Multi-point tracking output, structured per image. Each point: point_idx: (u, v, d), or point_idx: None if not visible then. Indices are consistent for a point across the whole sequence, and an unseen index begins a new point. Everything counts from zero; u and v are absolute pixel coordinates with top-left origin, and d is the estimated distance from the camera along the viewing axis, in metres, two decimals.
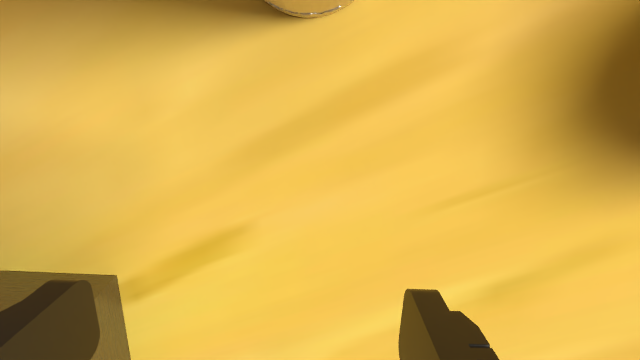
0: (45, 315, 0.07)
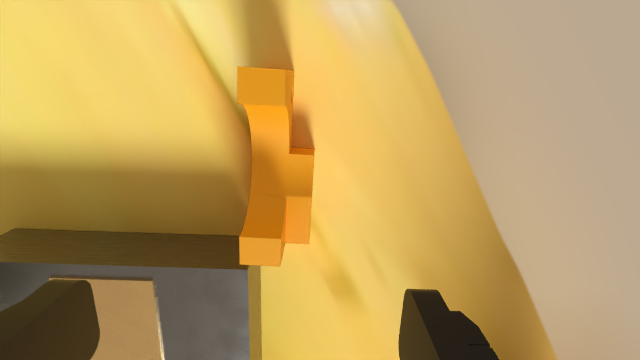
0: (45, 315, 0.07)
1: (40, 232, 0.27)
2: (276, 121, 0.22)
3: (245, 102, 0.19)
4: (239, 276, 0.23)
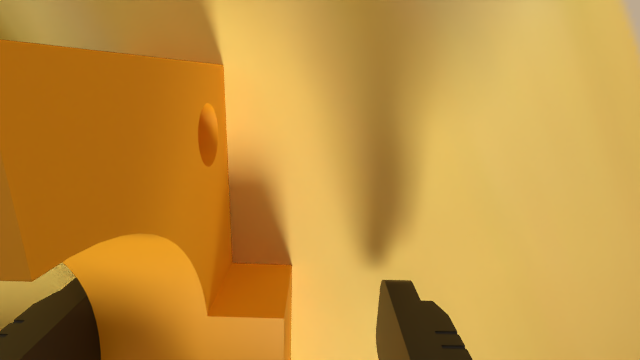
0: (83, 305, 0.07)
1: None
2: (135, 246, 0.06)
3: None
4: None
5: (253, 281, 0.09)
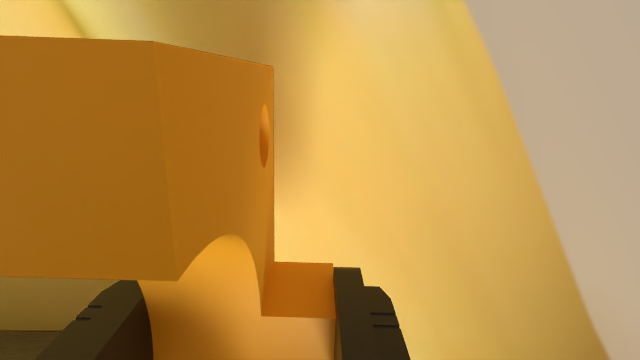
0: None
1: None
2: None
3: None
4: None
5: (298, 281, 0.09)
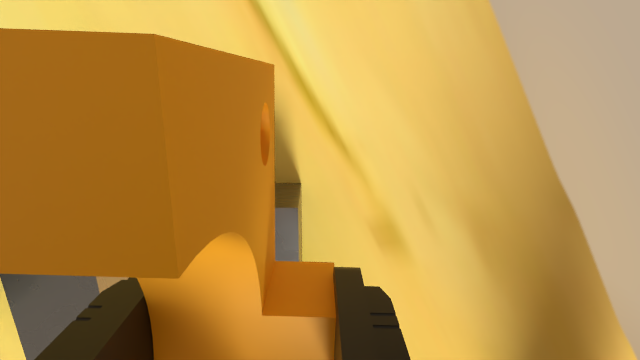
0: None
1: None
2: None
3: None
4: (289, 215, 0.22)
5: (299, 280, 0.09)
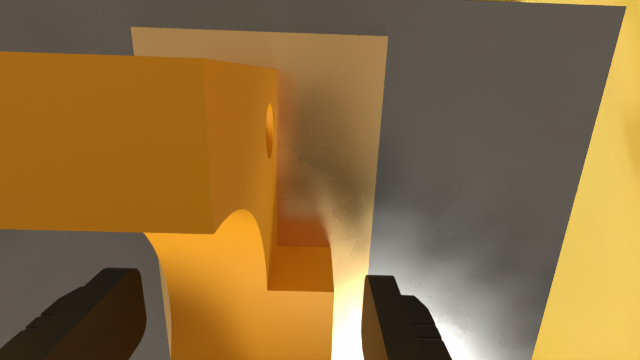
0: (107, 299, 0.08)
1: None
2: (220, 225, 0.07)
3: (24, 222, 0.04)
4: (600, 27, 0.09)
5: (300, 262, 0.10)
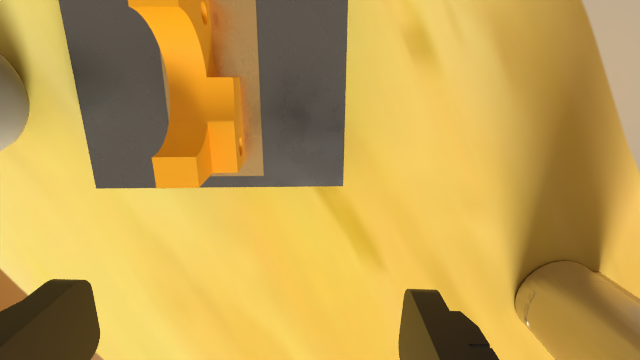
0: (45, 315, 0.07)
1: None
2: (185, 37, 0.21)
3: (136, 4, 0.18)
4: None
5: None
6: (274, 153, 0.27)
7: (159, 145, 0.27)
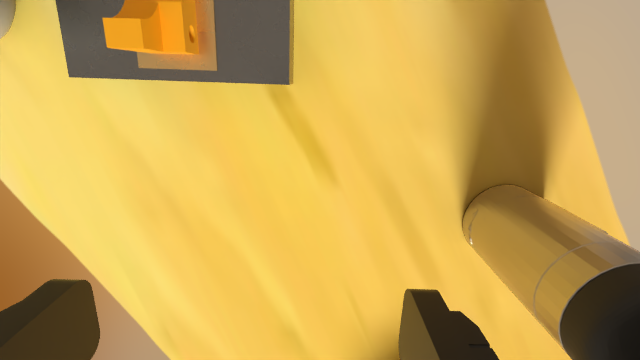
0: (45, 315, 0.07)
1: None
2: None
3: None
4: None
5: None
6: (227, 49, 0.30)
7: None
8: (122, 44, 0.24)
